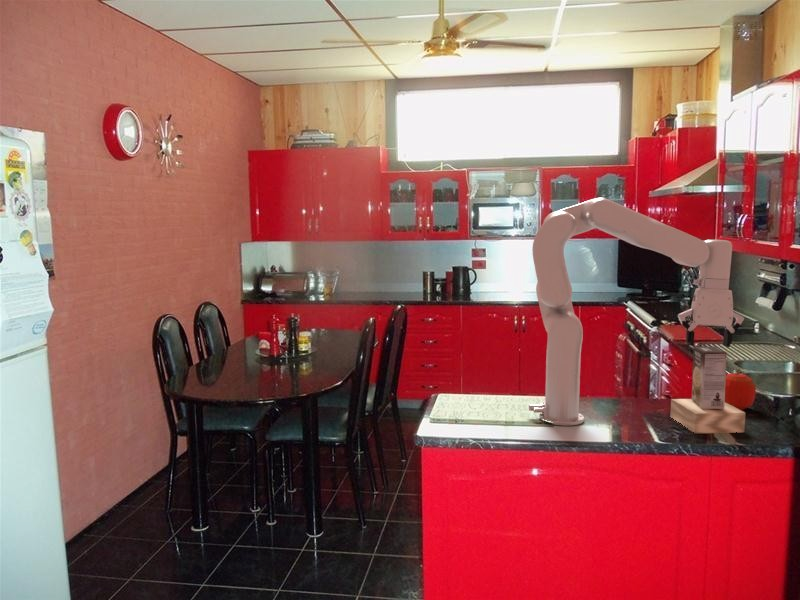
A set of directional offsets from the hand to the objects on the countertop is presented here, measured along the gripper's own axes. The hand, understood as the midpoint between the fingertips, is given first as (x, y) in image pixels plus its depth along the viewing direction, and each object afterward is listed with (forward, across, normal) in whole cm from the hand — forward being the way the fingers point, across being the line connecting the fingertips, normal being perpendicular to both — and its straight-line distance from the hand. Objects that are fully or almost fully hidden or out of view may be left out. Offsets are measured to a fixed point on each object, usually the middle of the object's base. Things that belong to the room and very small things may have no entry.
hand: (708, 345), depth 181 cm
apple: (+23, +16, +18) cm, 33 cm away
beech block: (+23, +1, 0) cm, 23 cm away
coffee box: (+17, +1, 0) cm, 17 cm away
